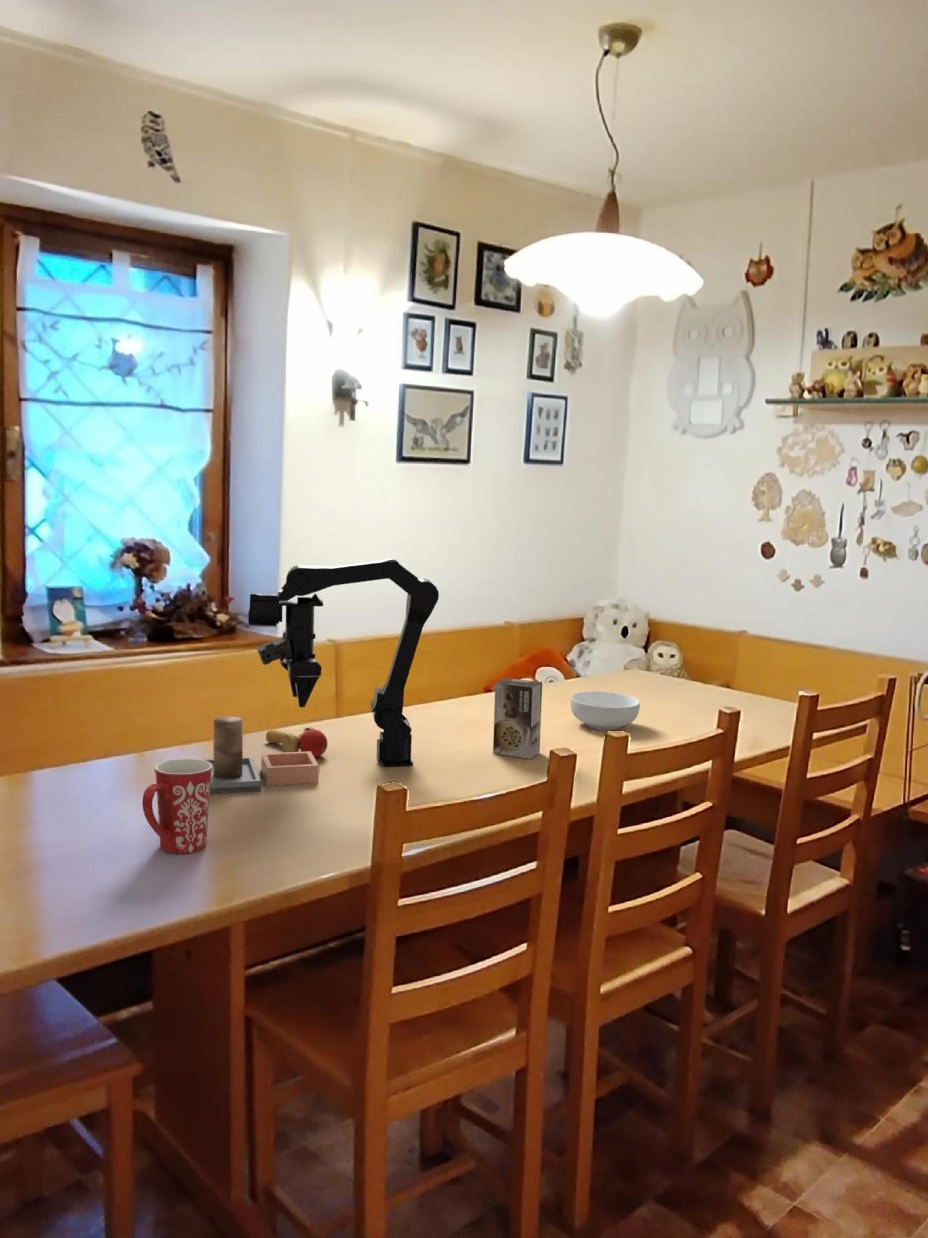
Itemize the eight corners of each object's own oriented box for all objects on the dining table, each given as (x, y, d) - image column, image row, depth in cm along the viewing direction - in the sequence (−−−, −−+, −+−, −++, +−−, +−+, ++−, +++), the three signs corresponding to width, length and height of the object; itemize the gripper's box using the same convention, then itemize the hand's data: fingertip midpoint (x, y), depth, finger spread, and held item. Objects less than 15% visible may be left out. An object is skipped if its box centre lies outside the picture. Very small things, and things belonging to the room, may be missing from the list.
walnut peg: (241, 770, 206) (241, 716, 204) (243, 778, 200) (243, 723, 199) (212, 771, 204) (212, 717, 202) (214, 779, 199) (214, 724, 197)
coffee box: (540, 752, 230) (544, 681, 227) (529, 759, 224) (533, 687, 221) (502, 746, 233) (505, 676, 231) (491, 753, 228) (494, 681, 225)
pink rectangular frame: (310, 767, 212) (310, 751, 212) (318, 782, 203) (318, 765, 202) (261, 770, 209) (261, 753, 209) (266, 785, 200) (267, 768, 199)
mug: (184, 832, 174) (184, 754, 172) (224, 844, 169) (224, 764, 167) (124, 854, 163) (123, 772, 161) (164, 868, 158) (164, 783, 156)
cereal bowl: (560, 729, 251) (562, 701, 250) (579, 715, 266) (581, 688, 265) (629, 738, 245) (631, 709, 244) (644, 723, 260) (646, 695, 259)
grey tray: (252, 766, 211) (252, 757, 211) (260, 790, 196) (260, 780, 196) (196, 769, 208) (196, 759, 208) (201, 794, 193) (201, 784, 193)
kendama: (254, 752, 227) (305, 758, 214) (256, 723, 227) (308, 728, 215) (283, 752, 232) (334, 758, 220) (285, 724, 233) (336, 729, 221)
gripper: (254, 620, 217) (254, 693, 220) (264, 635, 200) (264, 714, 202) (307, 620, 221) (306, 691, 223) (322, 634, 203) (321, 712, 205)
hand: (298, 701), depth 213 cm, fingers open, 9 cm apart
